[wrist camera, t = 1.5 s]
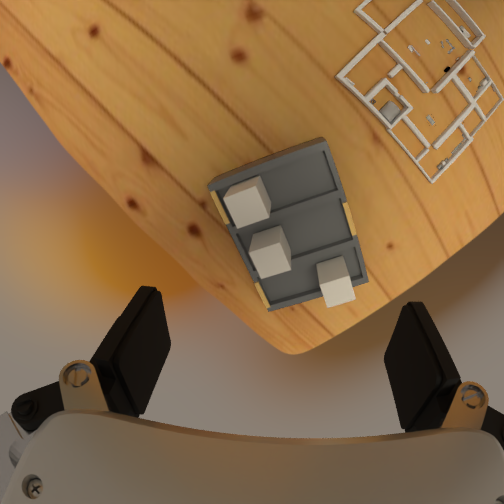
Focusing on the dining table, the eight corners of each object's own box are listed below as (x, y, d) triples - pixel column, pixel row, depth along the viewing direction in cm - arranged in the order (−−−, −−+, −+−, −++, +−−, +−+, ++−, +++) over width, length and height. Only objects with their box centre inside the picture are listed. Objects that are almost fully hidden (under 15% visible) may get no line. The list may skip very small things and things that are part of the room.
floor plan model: (365, -66, 16) (369, -73, 14) (510, 87, 21) (519, 88, 20) (259, 22, 24) (257, 17, 22) (428, 181, 29) (435, 186, 28)
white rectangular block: (259, 174, 28) (255, 185, 24) (271, 202, 29) (269, 217, 26) (230, 185, 29) (223, 198, 25) (243, 212, 30) (237, 228, 26)
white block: (280, 224, 30) (279, 242, 27) (290, 249, 31) (291, 269, 28) (253, 234, 31) (248, 252, 27) (264, 258, 32) (261, 279, 29)
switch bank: (322, 136, 28) (326, 140, 25) (362, 266, 35) (369, 283, 31) (214, 177, 31) (206, 186, 28) (270, 295, 38) (268, 312, 35)
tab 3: (342, 255, 31) (349, 275, 28) (349, 277, 32) (355, 299, 29) (316, 263, 32) (319, 284, 28) (323, 285, 33) (327, 307, 30)
